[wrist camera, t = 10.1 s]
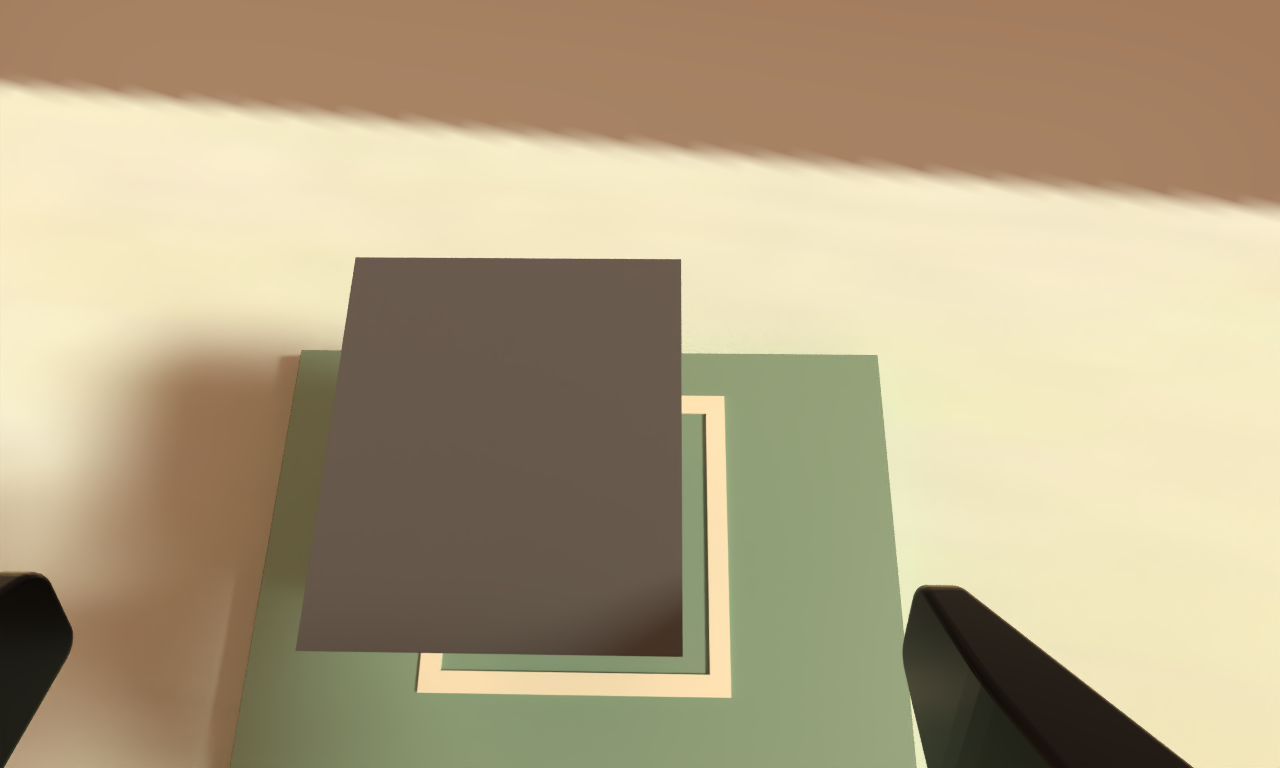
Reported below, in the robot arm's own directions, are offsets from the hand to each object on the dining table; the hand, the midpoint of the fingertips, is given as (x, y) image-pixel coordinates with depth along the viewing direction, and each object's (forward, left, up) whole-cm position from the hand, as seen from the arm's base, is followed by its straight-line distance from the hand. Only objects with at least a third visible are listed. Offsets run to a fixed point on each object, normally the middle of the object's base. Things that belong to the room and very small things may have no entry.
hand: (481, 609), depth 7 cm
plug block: (+2, 0, -11) cm, 11 cm away
